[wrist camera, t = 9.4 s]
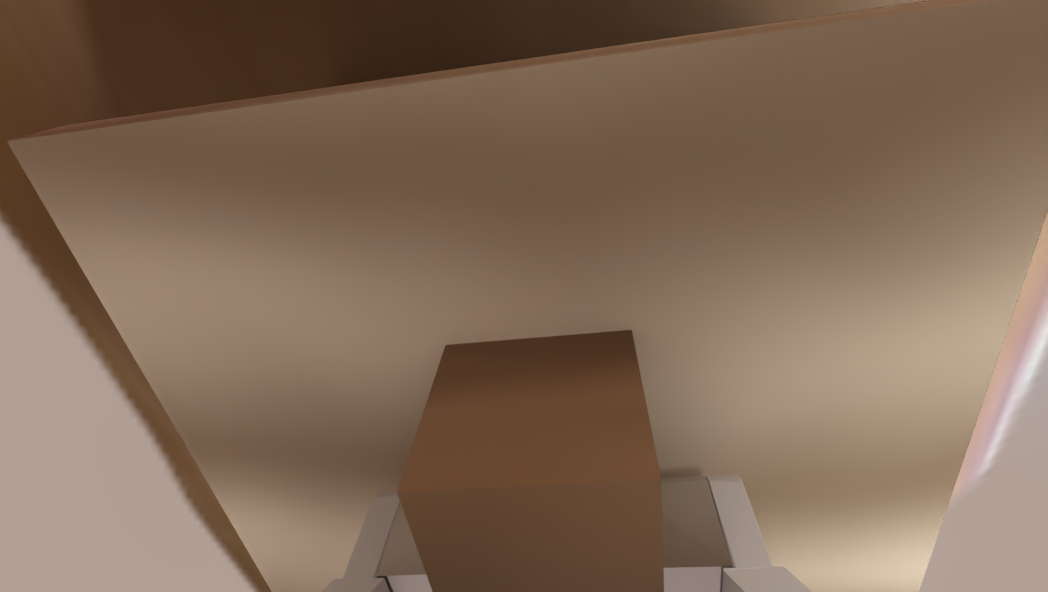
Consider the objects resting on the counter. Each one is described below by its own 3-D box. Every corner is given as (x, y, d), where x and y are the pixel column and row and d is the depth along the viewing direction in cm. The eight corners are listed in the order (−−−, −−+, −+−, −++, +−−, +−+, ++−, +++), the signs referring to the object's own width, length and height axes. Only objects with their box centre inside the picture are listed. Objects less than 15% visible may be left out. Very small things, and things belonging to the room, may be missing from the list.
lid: (63, 125, 9) (-278, 220, 5) (1054, -18, 7) (1553, -21, 3) (334, 636, 15) (267, 827, 12) (870, 628, 14) (975, 848, 10)
